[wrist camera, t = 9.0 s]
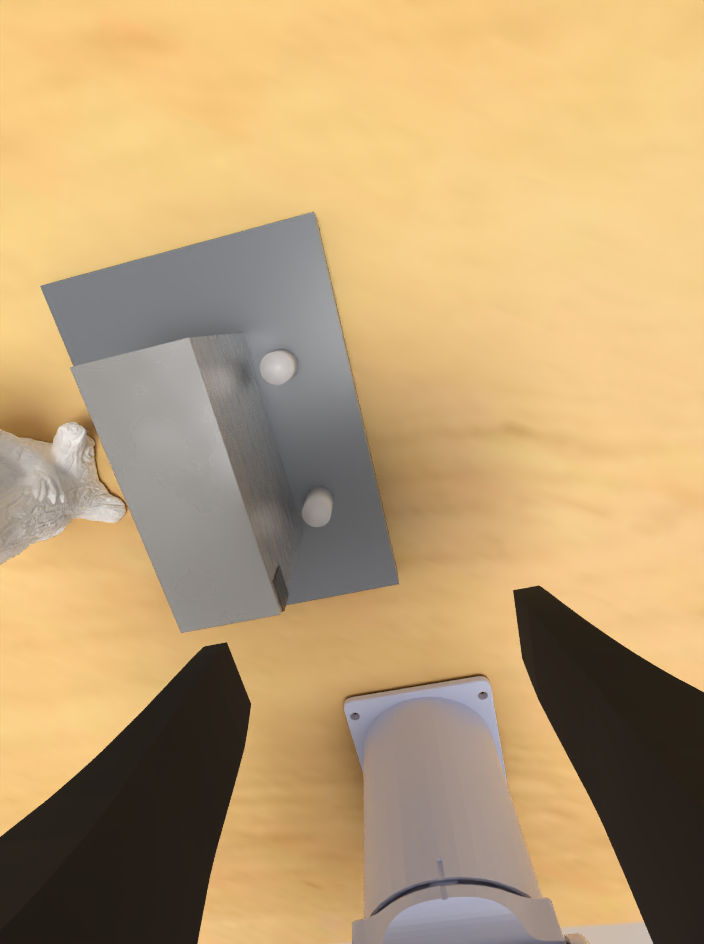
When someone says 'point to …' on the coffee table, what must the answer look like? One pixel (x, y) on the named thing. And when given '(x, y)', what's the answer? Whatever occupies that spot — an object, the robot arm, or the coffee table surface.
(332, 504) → the pin tray
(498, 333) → the coffee table surface
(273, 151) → the coffee table surface
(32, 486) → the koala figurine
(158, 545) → the block
